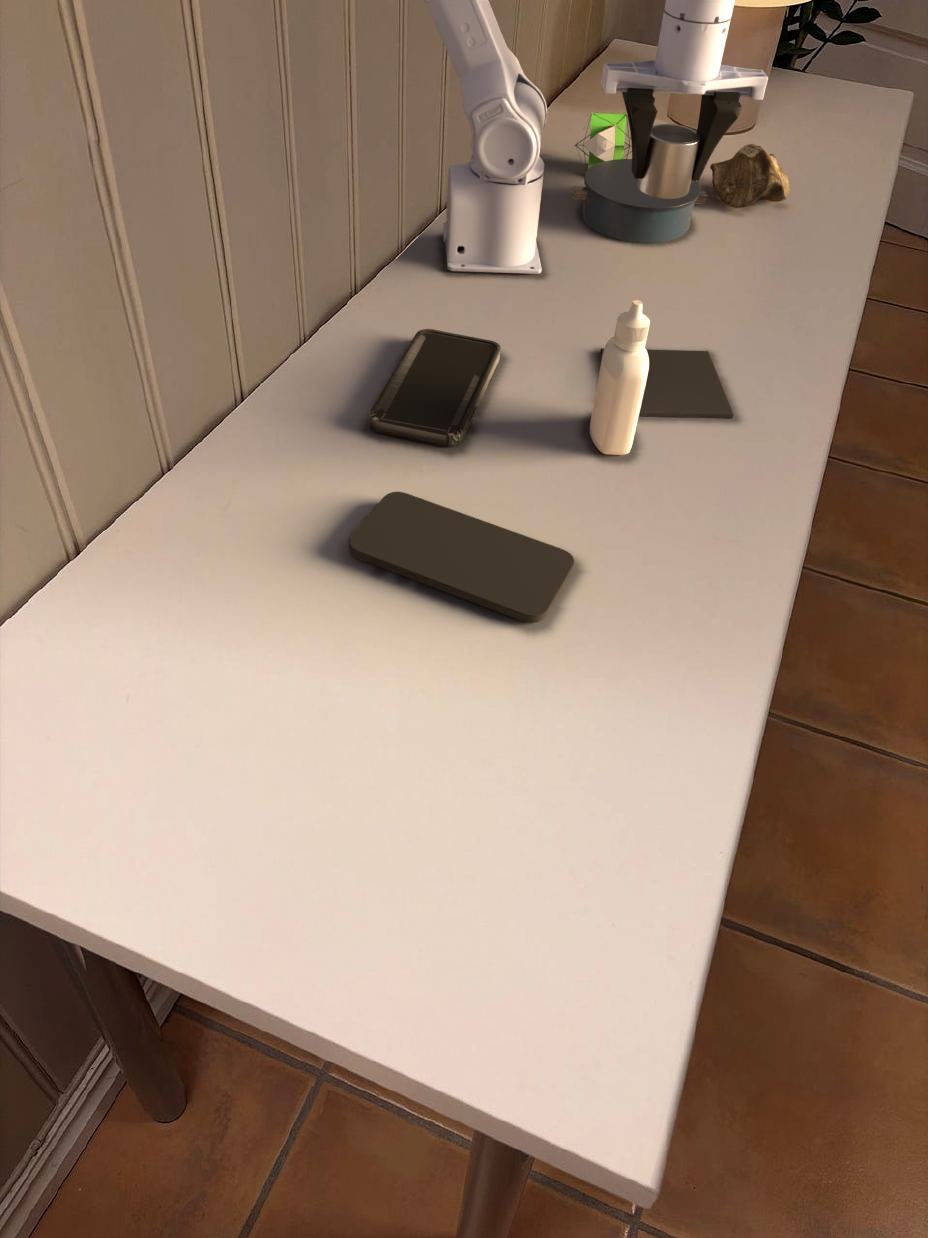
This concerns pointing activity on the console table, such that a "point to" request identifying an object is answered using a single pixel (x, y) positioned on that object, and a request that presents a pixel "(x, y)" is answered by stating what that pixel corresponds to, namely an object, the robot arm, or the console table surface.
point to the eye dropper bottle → (621, 383)
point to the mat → (683, 386)
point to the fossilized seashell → (749, 178)
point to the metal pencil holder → (669, 161)
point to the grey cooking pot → (633, 205)
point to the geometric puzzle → (606, 138)
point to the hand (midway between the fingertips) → (664, 175)
